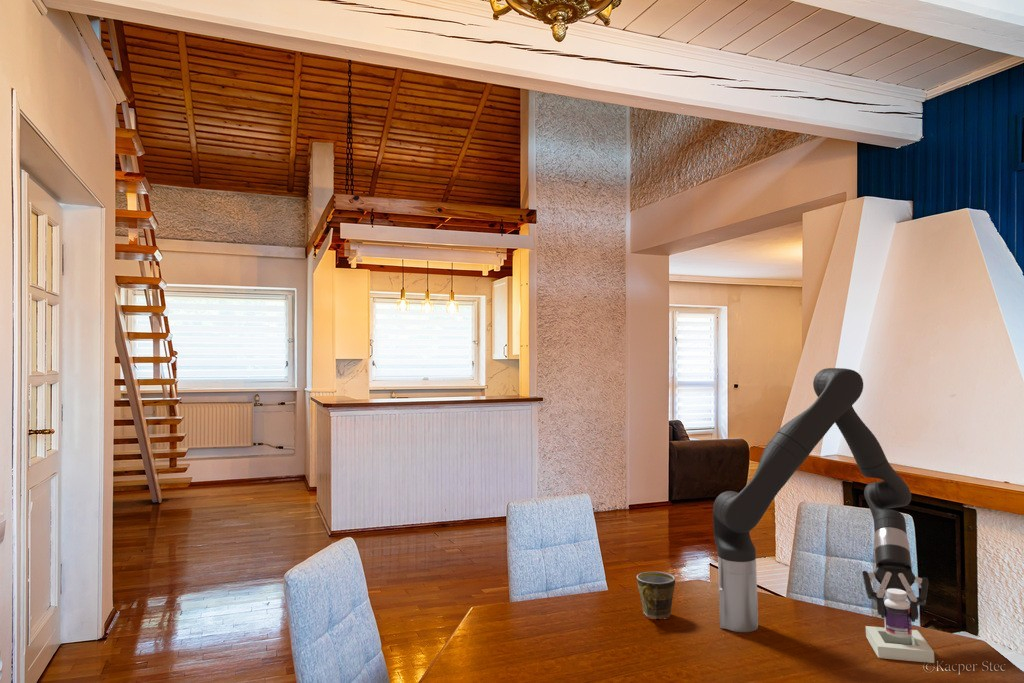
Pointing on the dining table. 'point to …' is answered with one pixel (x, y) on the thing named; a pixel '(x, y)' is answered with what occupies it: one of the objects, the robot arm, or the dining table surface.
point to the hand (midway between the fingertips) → (898, 618)
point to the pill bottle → (897, 614)
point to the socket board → (899, 646)
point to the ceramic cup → (656, 593)
